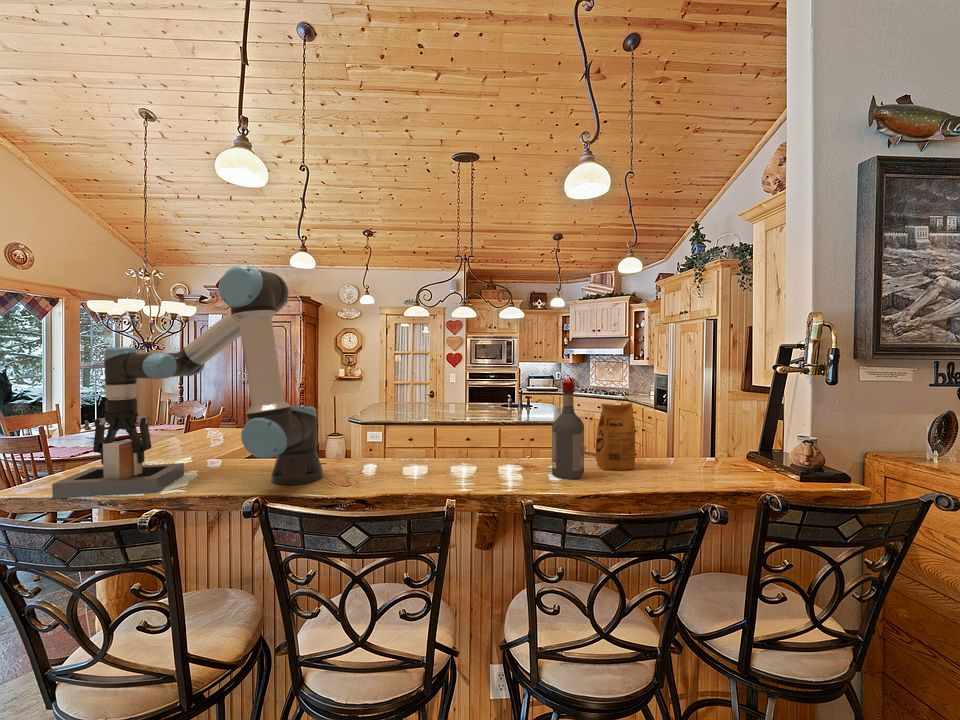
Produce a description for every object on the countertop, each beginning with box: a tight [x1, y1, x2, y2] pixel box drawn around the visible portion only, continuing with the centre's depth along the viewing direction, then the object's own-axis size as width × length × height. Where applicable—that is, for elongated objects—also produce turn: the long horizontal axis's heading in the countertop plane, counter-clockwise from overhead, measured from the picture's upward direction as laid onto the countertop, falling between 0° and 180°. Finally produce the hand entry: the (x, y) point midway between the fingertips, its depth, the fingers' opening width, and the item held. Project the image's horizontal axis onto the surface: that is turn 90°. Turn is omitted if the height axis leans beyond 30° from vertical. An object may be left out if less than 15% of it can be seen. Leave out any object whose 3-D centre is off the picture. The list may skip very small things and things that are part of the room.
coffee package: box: [595, 403, 636, 472], centre depth 160 cm, size 10×12×22 cm
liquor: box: [551, 381, 585, 481], centre depth 150 cm, size 9×9×30 cm
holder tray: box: [51, 462, 185, 499], centre depth 141 cm, size 26×18×4 cm
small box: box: [102, 438, 143, 479], centre depth 140 cm, size 8×6×10 cm
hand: (123, 474), depth 141 cm, fingers closed on small box, 7 cm apart
